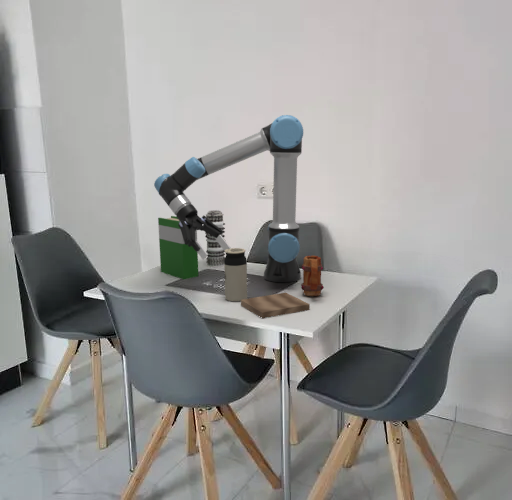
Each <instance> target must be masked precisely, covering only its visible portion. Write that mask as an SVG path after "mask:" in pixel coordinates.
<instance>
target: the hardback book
mask: <svg viewBox="0 0 512 500" xmlns="http://www.w3.org/2000/svg"><path fill="white" fill-rule="evenodd" d="M157 221H158V240H159V262H160V272H161V273H162V274H166V275H168V276H172V277H175V278H179V279H181V280H189V279H192V278H193V279H194V278H196V277H199V254H198V253H197V252H196V251H195V249H194V248H193V247H192V246H191V247H189V246H188V245H186V244H185V243H184V239H183V236H182V232H181V229H180V227H179V226H178V224H179V223H180V221H179V219H178V218H177V217H176V215H175V216H174V215H171V216H170V217H169V218H165V217H158V218H157ZM196 241H198V230H196V231H195V242H196Z"/></svg>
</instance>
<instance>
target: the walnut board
mask: <svg viewBox="0 0 512 500" xmlns="http://www.w3.org/2000/svg"><path fill="white" fill-rule="evenodd" d="M240 306H241V307H243V308H244V309H246V310H247V311H249V312H251V313H252V312H253V313H252V314H254V315H256V316H257V315H258V317H259V316H260V317H259V318H261V317H262V318H261V319H266V318H265V317H268V318H272V317H271V316H273V317H278V315H279V316H283V315H288V314H294V313H295V314H296V313H300V311H301V312H305V310H306V311H310V310H311V308H310V307H311V306H310V303H308V302H306V301H304V300H302V299H300V298H298V297H296V296H294V295H292V294H291V293H287V292H280V293H275V294H270V295H269V294H268V295H262V296H257V297H256V296H255V297H250V298H247V299H243V300H241V301H240Z"/></svg>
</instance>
